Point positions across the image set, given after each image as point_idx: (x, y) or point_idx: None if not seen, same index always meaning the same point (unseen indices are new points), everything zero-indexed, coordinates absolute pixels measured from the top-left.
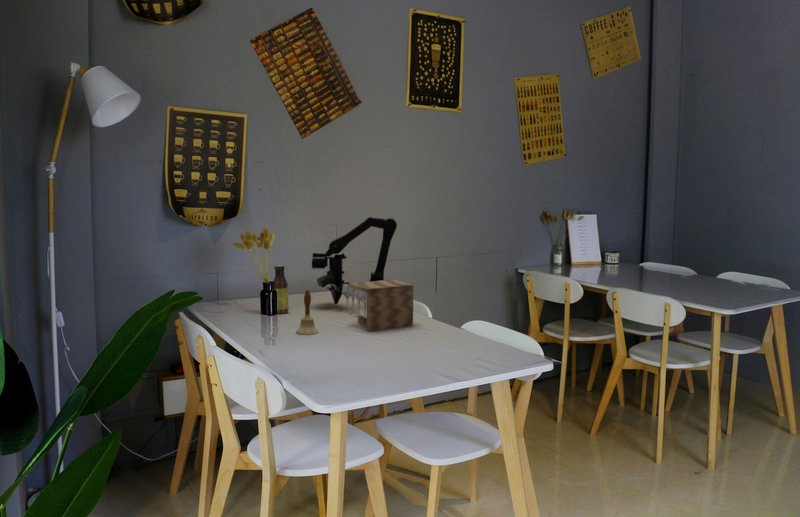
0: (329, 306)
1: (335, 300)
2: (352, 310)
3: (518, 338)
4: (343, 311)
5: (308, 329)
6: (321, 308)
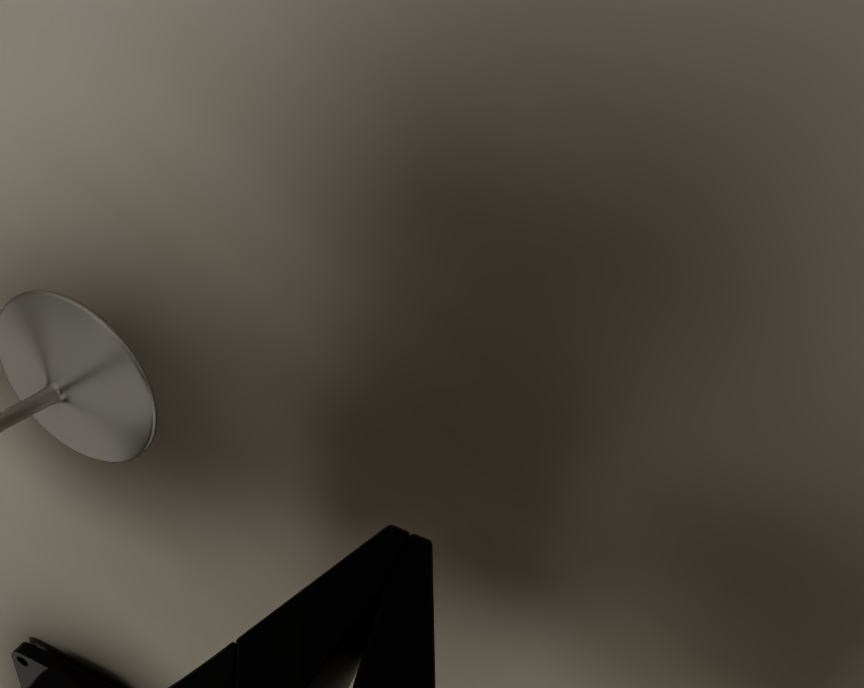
0: (598, 484)
1: (316, 579)
2: (67, 445)
3: None
4: (43, 297)
5: None
6: (574, 183)
